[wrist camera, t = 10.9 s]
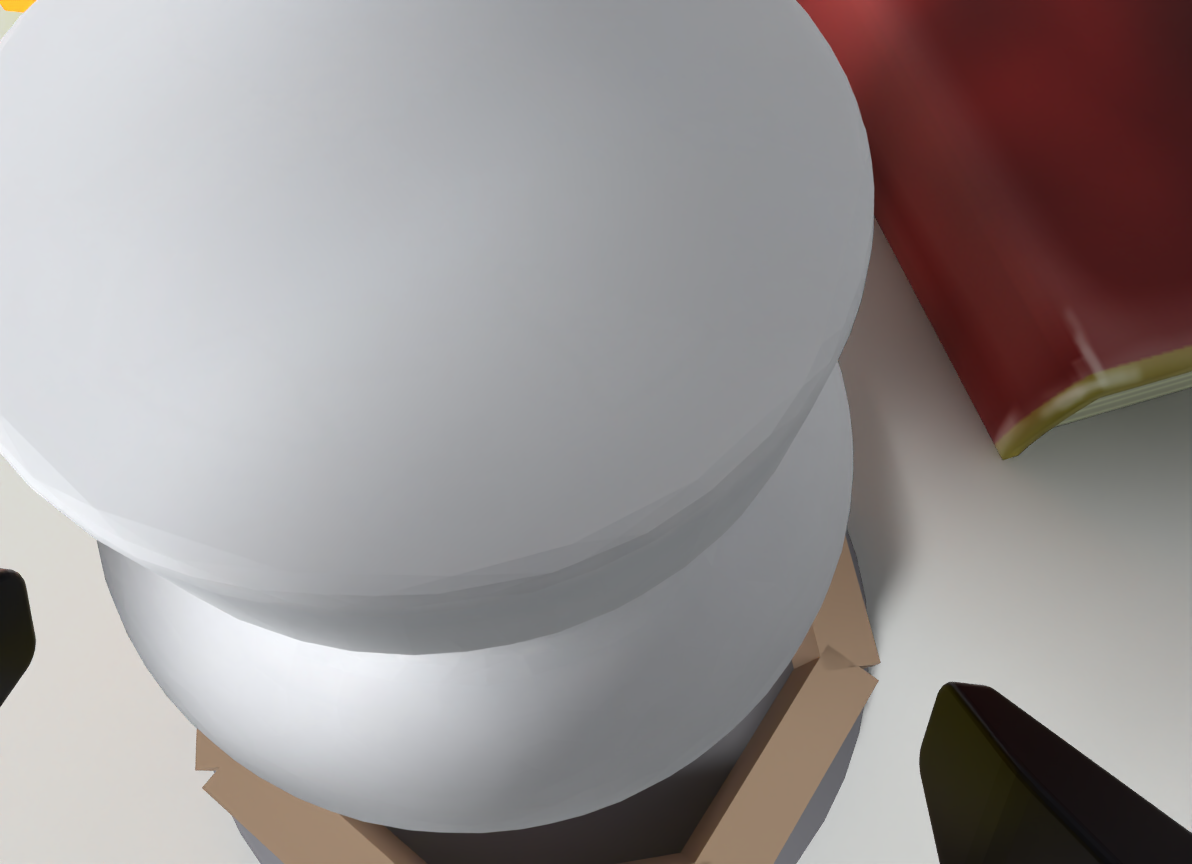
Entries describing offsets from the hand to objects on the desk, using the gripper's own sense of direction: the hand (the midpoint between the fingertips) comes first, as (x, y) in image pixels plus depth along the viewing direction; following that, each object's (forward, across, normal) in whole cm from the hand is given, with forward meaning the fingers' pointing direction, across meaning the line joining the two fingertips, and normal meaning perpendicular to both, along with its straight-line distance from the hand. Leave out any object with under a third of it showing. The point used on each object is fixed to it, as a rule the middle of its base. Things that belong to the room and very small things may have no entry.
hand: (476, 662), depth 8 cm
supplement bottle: (+7, 0, +4) cm, 8 cm away
